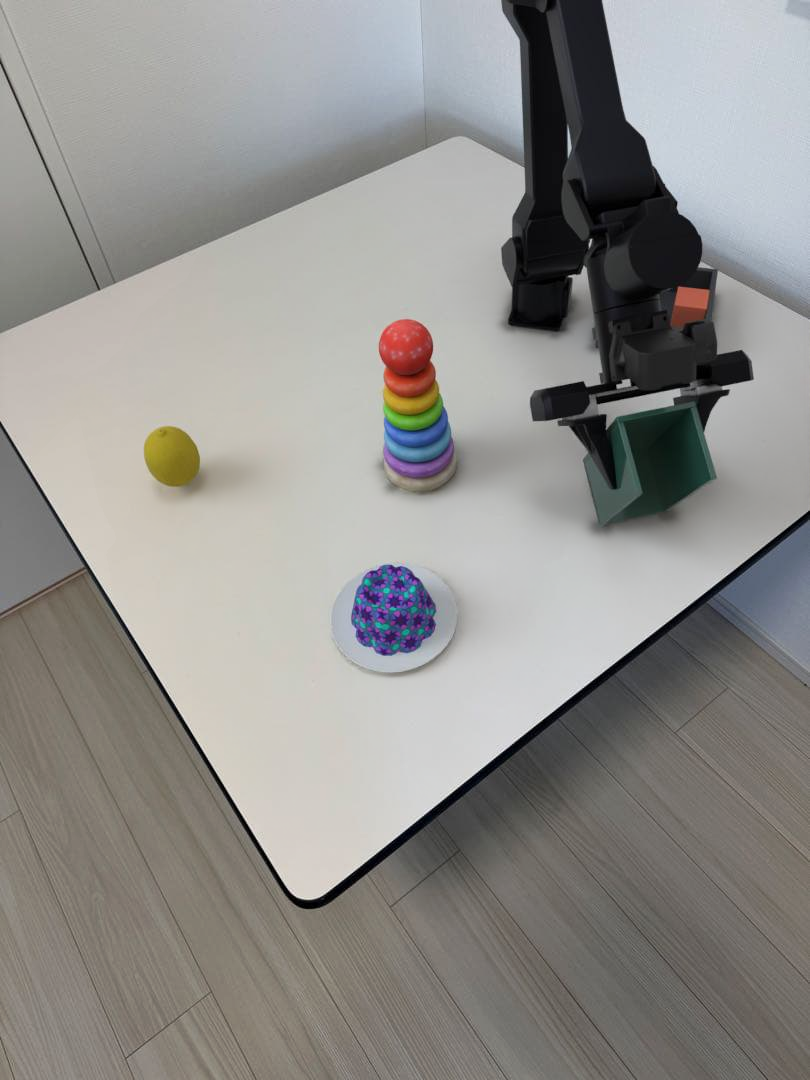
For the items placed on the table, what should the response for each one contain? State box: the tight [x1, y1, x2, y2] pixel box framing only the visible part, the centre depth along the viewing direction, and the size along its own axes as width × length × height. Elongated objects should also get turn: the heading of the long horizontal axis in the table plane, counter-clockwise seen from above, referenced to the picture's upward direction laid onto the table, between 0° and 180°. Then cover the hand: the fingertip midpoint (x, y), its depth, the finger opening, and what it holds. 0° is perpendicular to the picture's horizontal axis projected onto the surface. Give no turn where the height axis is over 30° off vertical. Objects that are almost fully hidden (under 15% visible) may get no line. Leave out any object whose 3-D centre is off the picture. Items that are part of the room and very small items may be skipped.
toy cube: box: [670, 287, 710, 328], centre depth 96 cm, size 4×4×4 cm
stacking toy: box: [378, 318, 458, 493], centre depth 81 cm, size 8×8×19 cm
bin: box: [595, 266, 719, 349], centre depth 98 cm, size 12×12×4 cm
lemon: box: [143, 425, 201, 488], centre depth 87 cm, size 6×6×8 cm
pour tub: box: [582, 401, 718, 527], centre depth 76 cm, size 7×7×13 cm
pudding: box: [329, 562, 459, 673], centre depth 75 cm, size 12×12×5 cm
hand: (652, 481), depth 74 cm, fingers closed on pour tub, 7 cm apart
